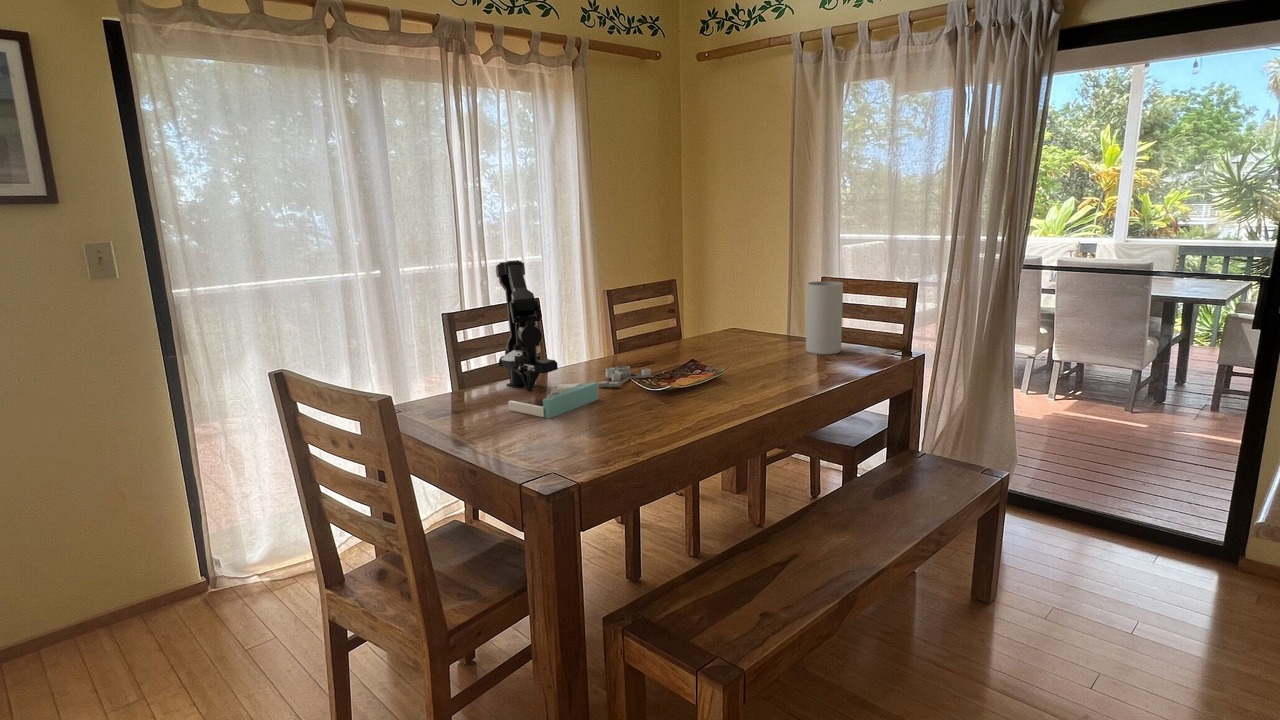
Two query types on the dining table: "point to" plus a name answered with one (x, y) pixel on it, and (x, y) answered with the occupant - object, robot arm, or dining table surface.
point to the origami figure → (564, 388)
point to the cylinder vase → (824, 317)
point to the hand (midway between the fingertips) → (529, 391)
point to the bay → (559, 401)
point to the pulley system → (622, 376)
